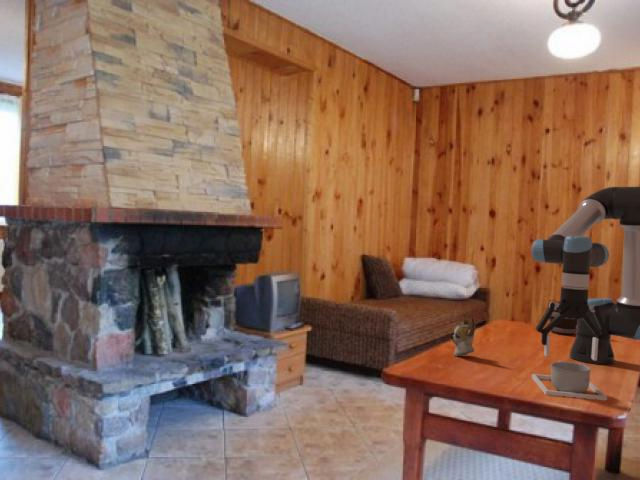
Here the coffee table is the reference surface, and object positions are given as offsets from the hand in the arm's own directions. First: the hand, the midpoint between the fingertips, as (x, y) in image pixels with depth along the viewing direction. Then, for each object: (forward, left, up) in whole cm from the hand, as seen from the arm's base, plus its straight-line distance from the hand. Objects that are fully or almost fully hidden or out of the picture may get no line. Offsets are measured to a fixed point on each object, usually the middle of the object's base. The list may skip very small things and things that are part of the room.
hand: (570, 357), depth 169 cm
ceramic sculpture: (+28, -33, -10) cm, 44 cm away
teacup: (0, 0, -10) cm, 10 cm away
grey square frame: (0, -1, -10) cm, 10 cm away
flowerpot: (-25, -101, -10) cm, 104 cm away
